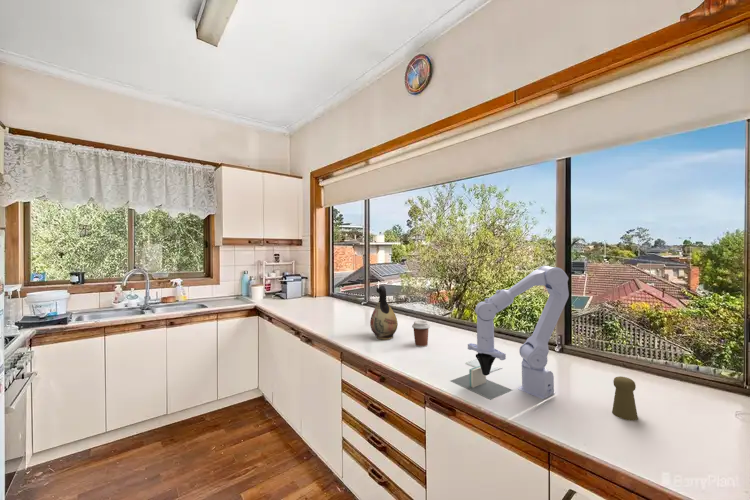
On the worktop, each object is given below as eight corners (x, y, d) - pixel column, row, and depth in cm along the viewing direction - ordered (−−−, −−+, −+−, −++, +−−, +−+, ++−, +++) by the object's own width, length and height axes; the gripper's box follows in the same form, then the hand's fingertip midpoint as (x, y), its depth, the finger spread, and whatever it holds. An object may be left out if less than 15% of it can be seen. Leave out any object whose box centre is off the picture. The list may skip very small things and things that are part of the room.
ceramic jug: (368, 335, 185) (367, 283, 185) (394, 333, 188) (393, 282, 187) (373, 343, 168) (372, 287, 168) (401, 341, 171) (400, 286, 171)
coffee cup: (408, 345, 164) (408, 322, 164) (420, 341, 170) (419, 319, 170) (422, 349, 158) (422, 325, 157) (433, 345, 164) (433, 322, 164)
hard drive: (465, 362, 136) (489, 371, 125) (478, 358, 140) (502, 367, 130) (465, 366, 136) (489, 376, 125) (478, 362, 140) (502, 371, 130)
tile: (485, 382, 117) (485, 366, 117) (473, 387, 113) (472, 370, 113) (482, 381, 118) (482, 365, 118) (469, 385, 114) (469, 369, 114)
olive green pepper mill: (610, 415, 94) (609, 378, 94) (614, 407, 98) (613, 372, 98) (636, 423, 90) (636, 384, 90) (639, 414, 94) (638, 377, 94)
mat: (512, 391, 110) (512, 389, 110) (490, 401, 104) (490, 399, 104) (471, 374, 126) (471, 373, 126) (449, 382, 119) (449, 380, 119)
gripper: (461, 333, 116) (462, 370, 116) (496, 343, 104) (496, 384, 104) (474, 330, 120) (475, 366, 120) (509, 339, 108) (509, 379, 108)
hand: (486, 374), depth 112 cm, fingers closed
